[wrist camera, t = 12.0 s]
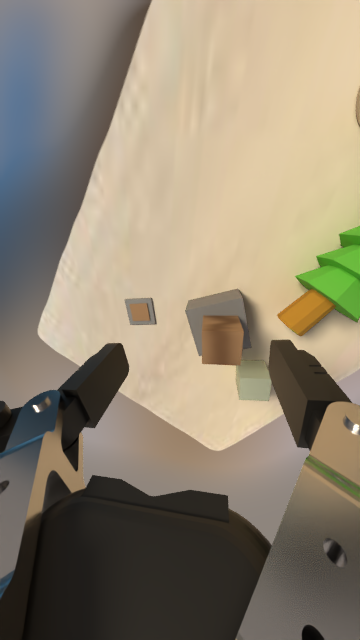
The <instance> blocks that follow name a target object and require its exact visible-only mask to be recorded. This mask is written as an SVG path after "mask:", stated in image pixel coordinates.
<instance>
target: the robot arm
mask: <svg viewBox="0 0 360 640" xmlns="http://www.w3.org/2000/svg"><path fill="white" fill-rule="evenodd" d="M356 116H357V119H358V123H359V125H360V89H359V92H358V96H357V102H356ZM128 372H129V364H128V361H127V358H126V354H125V351H124V348H123V345H122V344H121V343H108V344H106V345H105V346H104V347H103V348H102V349H101V350H100V351H99V352H98V353H96V354H95V355H93V356H92V357H90V358H89V359H88V360H87V361H86V362H85V363H84V365H82V366H81V367H80V368H79V370H77V371H76V372H75V373H74V374H73V375H72V376H71V377H70V378H69V379H68V380H67V381H66V382H65V383H64V384H63V385H62V386H61V387H60V388H59V389H58V390H49V391H46V392H43V393H40V394H39V395H37V396H35V397H33V398H32V399H31V400H29V401H28V402H27V403H26V404H25V405H24V406H23V407H19V408H15V409H9V407H8V406H7V405H6V403H5V402H4V401H0V640H360V406H359V405H357V404H353V403H352V402H351V401H350V399H349V398H348V397H347V396H346V394H345V393H344V392H343V391H342V390H341V389H340V388H339V386H338V385H337V384H336V382H335V381H334V380H333V379H332V378H331V376H330V375H329V374H327V372H326V370H325V369H324V368H323V367H321V364H320V363H319V362H318V361H317V359H316V358H315V357H314V356H312V355H311V354H309V353H307V352H306V351H304V350H297V349H296V347H295V346H294V344H293V343H292V342H291V341H290V340H272V341H271V345H270V357H269V375H270V379H271V381H272V384H273V386H274V389H275V391H276V394H277V397H278V399H279V402H280V404H281V407H282V409H283V412H284V414H285V417H286V419H287V422H288V424H289V427H290V429H291V432H292V435H293V437H294V440H295V442H296V444H297V447H301V448H309V450H310V454H309V456H308V457H307V458H306V460H305V462H304V464H303V467H302V469H301V472H300V475H299V477H298V480H297V482H296V485H295V487H294V490H293V493H292V495H291V498H290V500H289V503H288V505H287V508H286V511H285V513H284V516H283V518H282V521H281V524H280V526H279V529H278V531H277V534H276V536H275V539H274V541H273V544H272V545H271V544H270V543H269V541H268V540H267V539H266V538H265V537H264V536H263V535H262V534H261V532H260V531H259V530H258V529H256V527H255V526H253V525H252V524H251V523H250V522H249V521H248V520H246V519H245V518H244V517H242V516H241V515H239V514H238V513H236V512H234V511H232V510H230V509H229V508H228V496H226V495H220V494H213V493H207V492H200V491H194V490H187V491H182V492H176V493H171V494H166V495H160V496H154V497H153V496H149V495H147V494H145V493H144V492H142V491H140V490H139V489H137V488H135V487H133V486H132V485H130V484H128V483H127V482H125V481H123V480H122V479H115V478H108V477H101V476H95V475H92V477H91V479H90V481H89V483H88V485H87V487H85V484H84V479H83V435H82V433H81V431H82V430H83V428H84V427H89V428H95V427H96V425H97V424H98V422H99V420H100V419H101V417H102V415H103V414H104V412H105V411H106V409H107V408H108V406H109V404H110V403H111V401H112V399H113V398H114V396H115V394H116V393H117V391H118V390H119V388H120V387H121V385H122V383H123V382H124V380H125V379H126V377H127V375H128Z"/></svg>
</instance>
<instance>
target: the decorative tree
mask: <svg viewBox="0 0 360 640" xmlns="http://www.w3.org/2000/svg"><path fill="white" fill-rule="evenodd" d="M339 236H340V242H341V245H342V246H343V247H344V248H341V249H338V250H335V251H331V252H328V253H325V254H322V255H319V256H316V257H317V260H318V262H319V265H320V266H321V268H318V269H315V270H312V271H309V272H306V273H303V274H300V275H297V276H295V277H296V278H297V279H298V281H299V282H300V283H301V284H302V285H304V286H305V287H306V288H307V289H309V291H308V292H306V293H305V294H304V295H302V296H301V297H300V298H298V299H297V300H296V301H294V302H293V303H292V304H291V305H289V306H288V307H287V308H285V309H284V310H283V311H281V312H280V313H279V314H277V316H278V318H279V319H280V320H281V321H282V322H283V323H284V324H286V325H287V326H288V327H289V328H290V329H291V330H292V331H293V332H295V333H296V334H297V335H299V336H302V335H304V334H305V333H306V332H307V331H308V330H309V329H311V328H312V327H313V326H314V325H315V324H316V323H318V322H319V321H320V320H321V319H322V318H323V317H325V316H326V315H327V314H328V313H329V312H330V311H332V310H333V309H336V310H337V311H339V312H340V313H342V314H344V315H345V316H347V317H349V318H350V319H352V320H354V321H355V322H358V320H359V317H360V226H358V227H356V228H353V229H351V230H348V231H346V232H343V233H340V234H339Z"/></svg>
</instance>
